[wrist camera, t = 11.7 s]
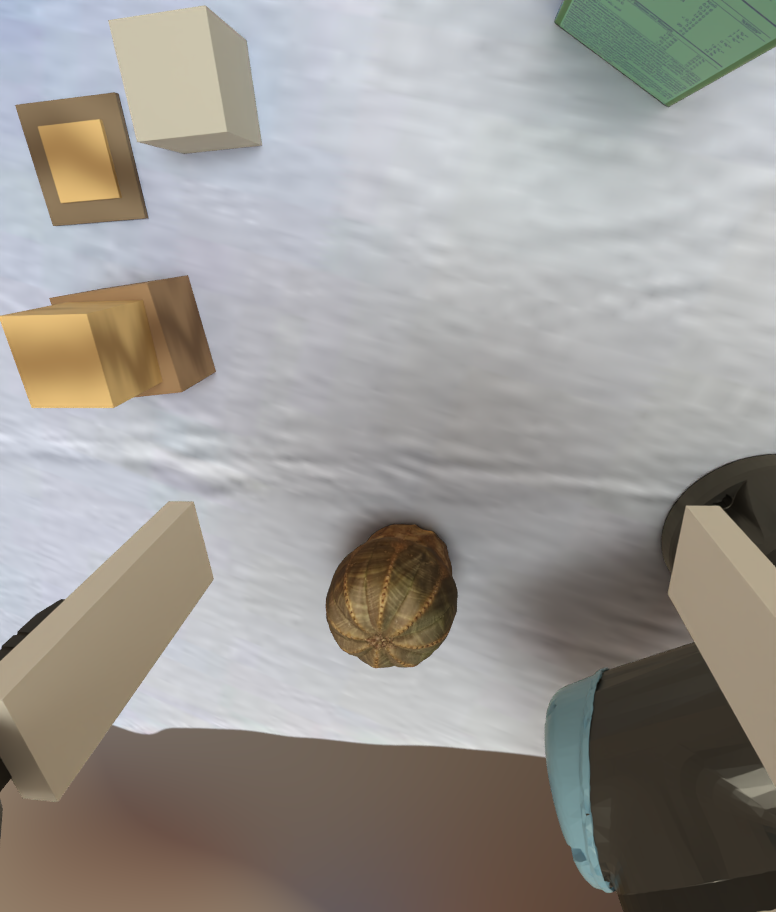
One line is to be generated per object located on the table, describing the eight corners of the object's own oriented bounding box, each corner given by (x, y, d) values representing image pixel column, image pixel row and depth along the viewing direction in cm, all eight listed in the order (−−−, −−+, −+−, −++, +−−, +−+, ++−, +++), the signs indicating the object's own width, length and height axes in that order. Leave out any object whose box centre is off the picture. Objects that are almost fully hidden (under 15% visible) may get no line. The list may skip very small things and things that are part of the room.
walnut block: (216, 371, 44) (182, 391, 38) (135, 380, 45) (90, 402, 40) (189, 275, 40) (147, 282, 35) (102, 288, 42) (49, 298, 36)
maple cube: (162, 381, 38) (113, 407, 33) (91, 382, 39) (31, 407, 33) (143, 300, 36) (86, 313, 30) (67, 302, 36) (-2, 316, 31)
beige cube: (262, 145, 36) (227, 131, 30) (184, 153, 37) (137, 141, 31) (246, 40, 33) (205, 5, 28) (164, 52, 34) (108, 20, 29)
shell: (404, 483, 46) (386, 564, 35) (480, 562, 48) (485, 659, 37) (323, 544, 50) (285, 633, 39) (397, 613, 52) (381, 715, 41)
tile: (148, 218, 39) (143, 218, 38) (56, 225, 40) (50, 225, 39) (118, 93, 35) (112, 91, 35) (19, 106, 37) (11, 104, 36)
